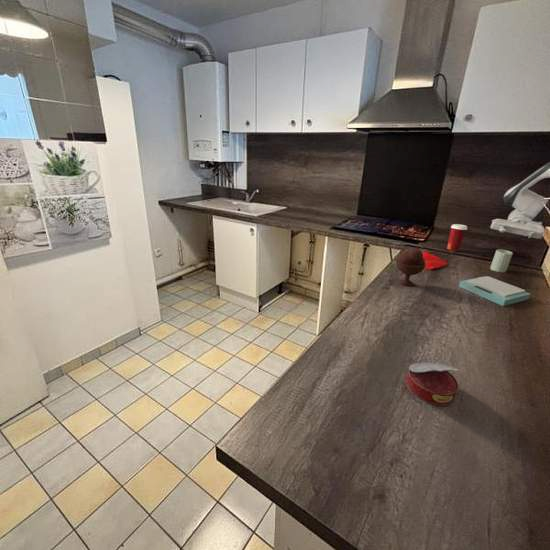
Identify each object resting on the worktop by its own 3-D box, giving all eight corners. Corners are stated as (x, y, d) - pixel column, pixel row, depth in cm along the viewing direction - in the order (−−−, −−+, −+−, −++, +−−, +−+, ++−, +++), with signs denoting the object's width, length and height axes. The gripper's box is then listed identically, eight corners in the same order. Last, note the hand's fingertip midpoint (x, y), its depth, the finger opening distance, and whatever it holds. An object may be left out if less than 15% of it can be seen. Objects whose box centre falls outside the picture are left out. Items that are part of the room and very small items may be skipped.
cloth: (445, 273, 129) (447, 268, 128) (412, 266, 136) (413, 262, 135) (448, 257, 150) (449, 253, 149) (419, 252, 156) (420, 248, 155)
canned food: (408, 409, 65) (393, 373, 63) (417, 379, 73) (404, 345, 71) (466, 416, 58) (451, 375, 56) (470, 382, 65) (457, 344, 63)
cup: (508, 271, 134) (515, 253, 130) (500, 273, 132) (507, 254, 128) (495, 266, 139) (501, 249, 135) (487, 268, 137) (493, 250, 133)
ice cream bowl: (421, 281, 120) (430, 247, 114) (418, 291, 111) (427, 254, 105) (394, 275, 125) (401, 242, 119) (389, 285, 116) (397, 249, 110)
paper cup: (463, 251, 160) (471, 226, 154) (455, 253, 156) (463, 227, 151) (449, 247, 166) (456, 223, 160) (441, 249, 162) (448, 224, 157)
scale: (528, 299, 108) (531, 291, 107) (503, 306, 102) (506, 298, 101) (482, 281, 122) (485, 274, 121) (458, 286, 117) (460, 279, 115)
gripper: (495, 213, 147) (491, 222, 138) (546, 223, 136) (546, 233, 127) (490, 225, 150) (486, 234, 141) (539, 235, 140) (539, 246, 131)
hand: (515, 233), depth 134 cm, fingers open, 8 cm apart
